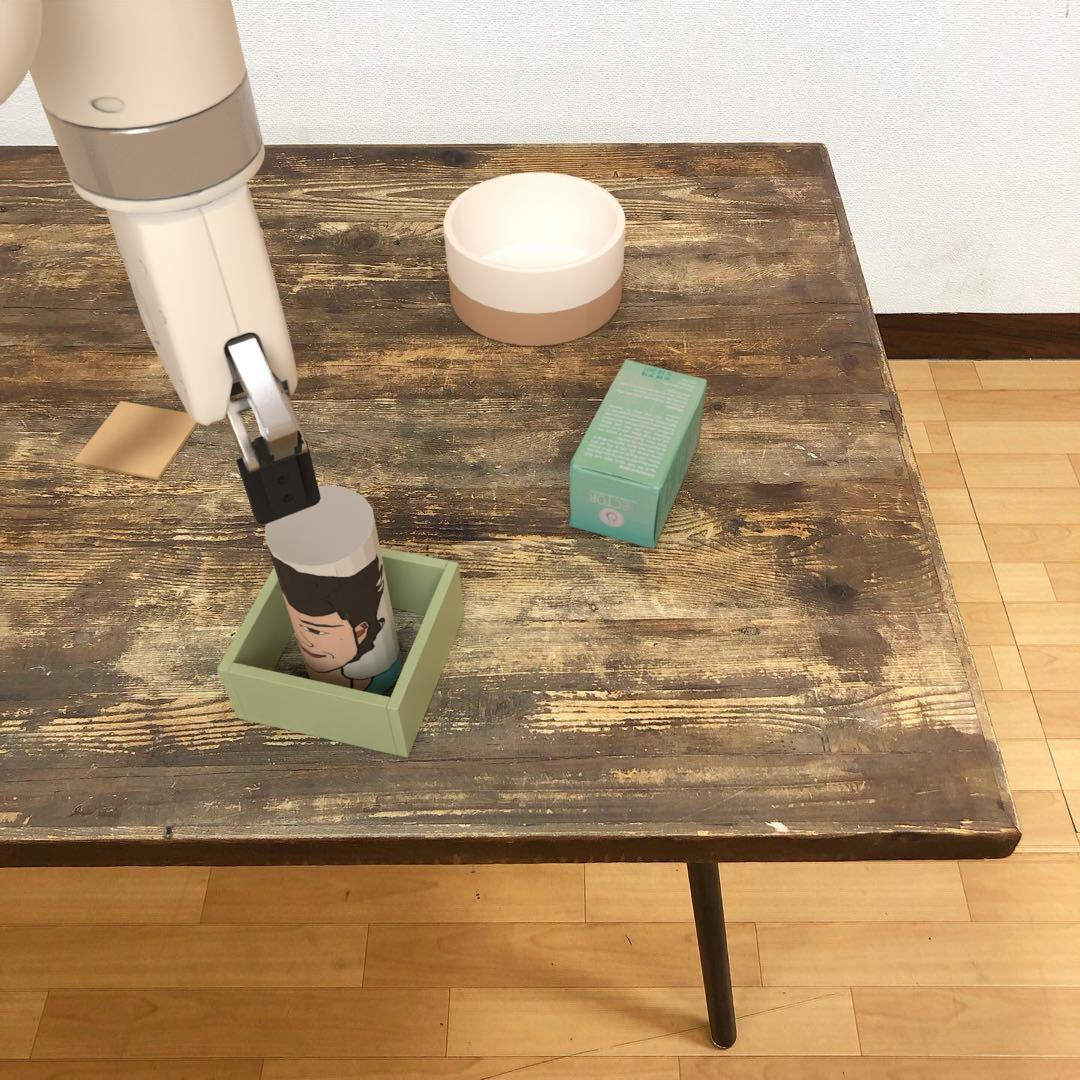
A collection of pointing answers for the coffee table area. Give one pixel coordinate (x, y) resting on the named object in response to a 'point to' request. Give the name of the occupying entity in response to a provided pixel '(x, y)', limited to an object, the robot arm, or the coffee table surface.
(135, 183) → the robot arm
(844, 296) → the coffee table surface
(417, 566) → the crate
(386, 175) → the coffee table surface
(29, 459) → the coffee table surface
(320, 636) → the grey printed cylinder
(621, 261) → the bowl
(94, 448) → the coaster
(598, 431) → the box
